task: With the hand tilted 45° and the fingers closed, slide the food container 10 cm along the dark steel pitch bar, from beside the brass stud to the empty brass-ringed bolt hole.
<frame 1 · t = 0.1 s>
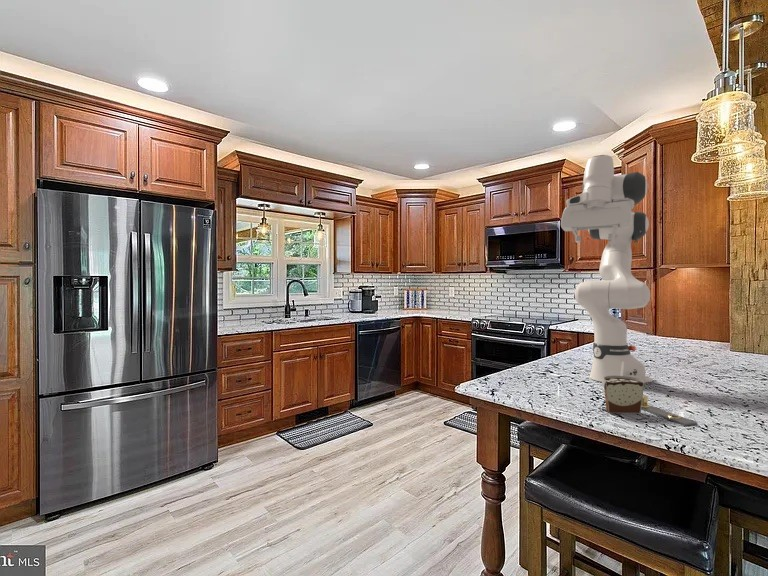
hand: (594, 240, 127), 52 cm above the counter, tool tilted 20°, fingers open, 8 cm apart
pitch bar: (658, 413, 119), on the counter
food container: (618, 410, 122), on the counter
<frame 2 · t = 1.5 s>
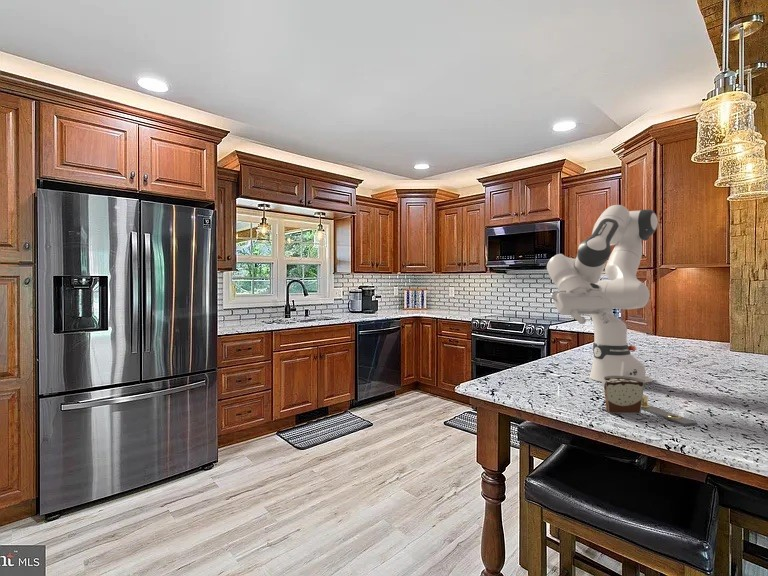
hand: (595, 322, 131), 26 cm above the counter, tool tilted 45°, fingers open, 8 cm apart
nothing on the counter moved.
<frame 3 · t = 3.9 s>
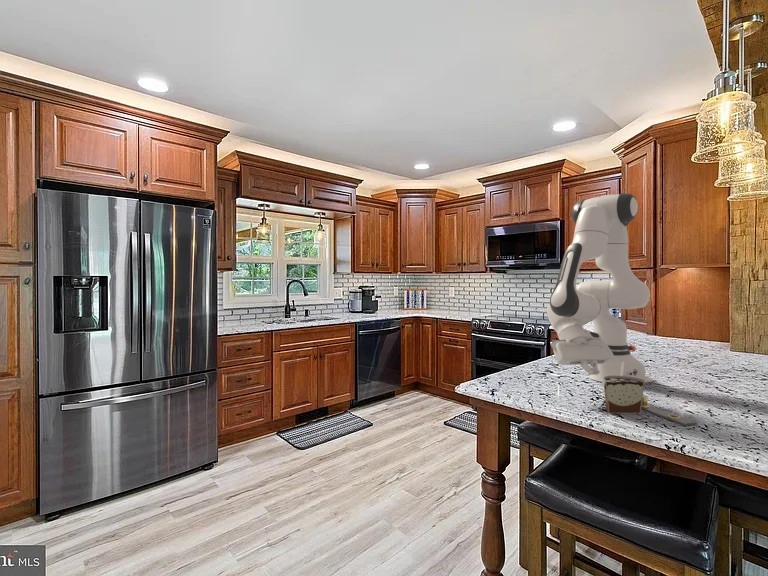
hand: (594, 373, 131), 9 cm above the counter, tool tilted 45°, fingers closed
nothing on the counter moved.
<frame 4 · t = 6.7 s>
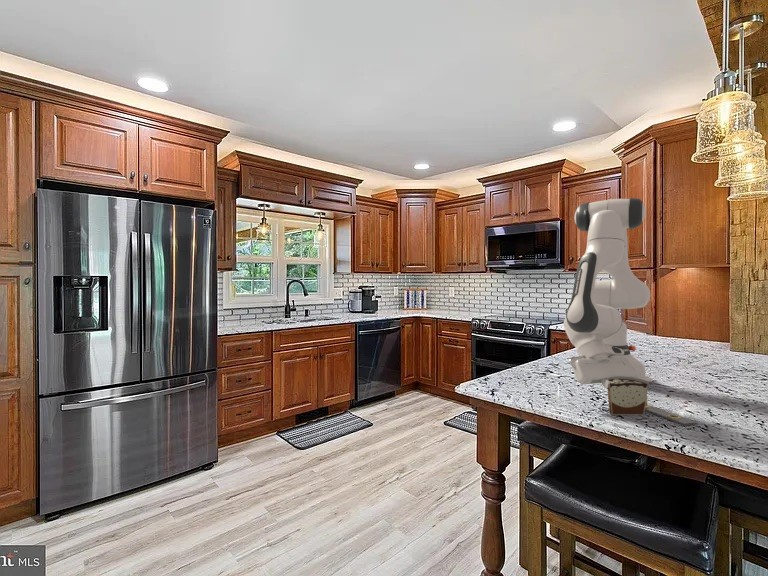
hand: (618, 393, 122), 5 cm above the counter, tool tilted 45°, fingers closed, pressing on food container
food container: (622, 412, 121), on the counter, touching gripper
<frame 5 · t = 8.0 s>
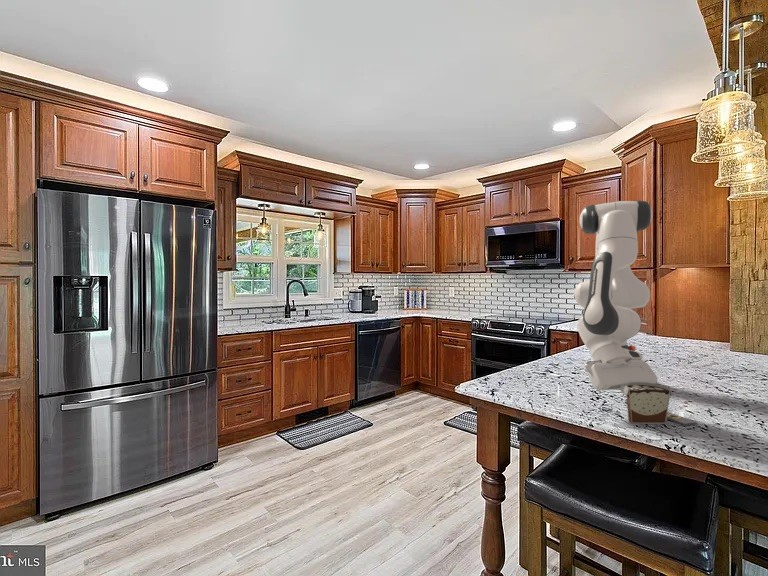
hand: (637, 400, 115), 5 cm above the counter, tool tilted 45°, fingers closed, pressing on food container
food container: (641, 420, 114), on the counter, touching gripper
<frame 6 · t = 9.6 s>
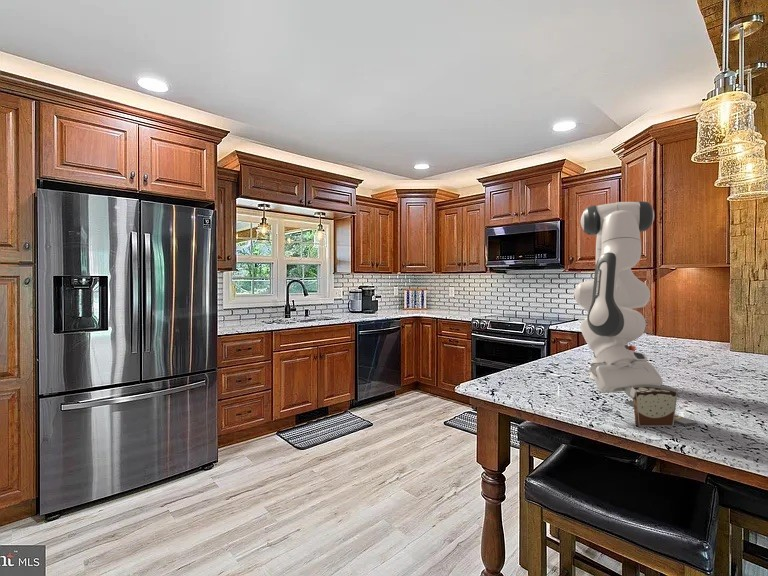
hand: (642, 402, 114), 5 cm above the counter, tool tilted 45°, fingers closed
food container: (648, 423, 112), on the counter
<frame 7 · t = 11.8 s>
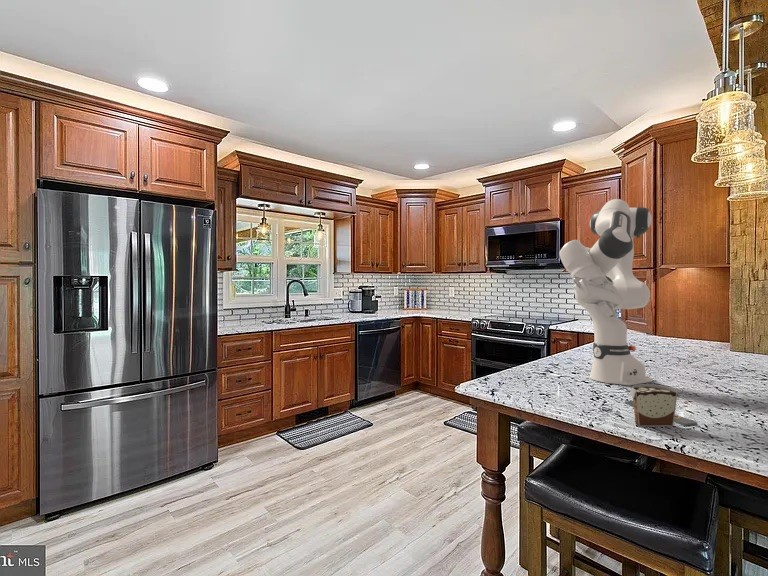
hand: (612, 315, 125), 28 cm above the counter, tool tilted 40°, fingers closed
nothing on the counter moved.
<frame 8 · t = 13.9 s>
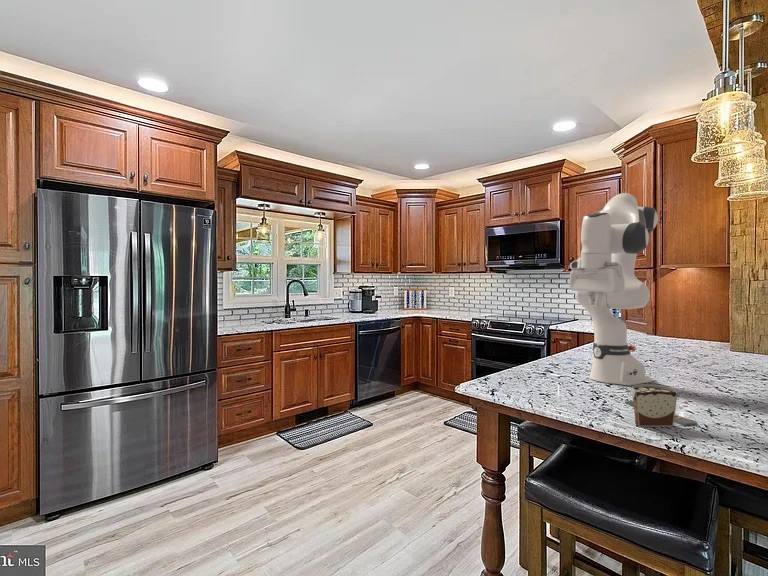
hand: (595, 305, 130), 31 cm above the counter, tool pointing down, fingers closed
nothing on the counter moved.
at the end: food container 0.0 cm from the target spot, on the counter; food container tilted 0°; food container moved 10.5 cm from its start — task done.
